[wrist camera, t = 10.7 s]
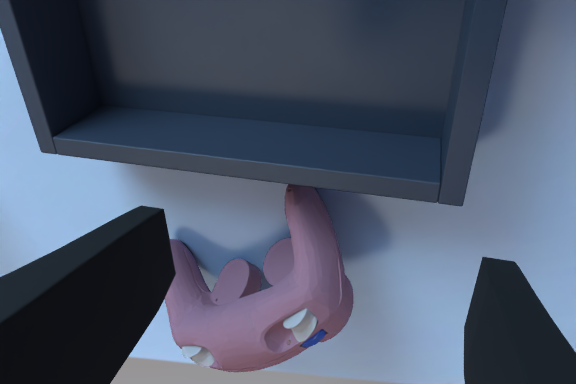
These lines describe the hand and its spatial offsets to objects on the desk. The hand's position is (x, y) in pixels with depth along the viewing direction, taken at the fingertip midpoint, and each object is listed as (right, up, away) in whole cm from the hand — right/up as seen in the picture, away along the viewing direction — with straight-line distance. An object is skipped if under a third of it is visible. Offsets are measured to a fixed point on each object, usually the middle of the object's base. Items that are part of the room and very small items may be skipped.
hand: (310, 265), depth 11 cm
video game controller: (-2, -1, +14) cm, 14 cm away
